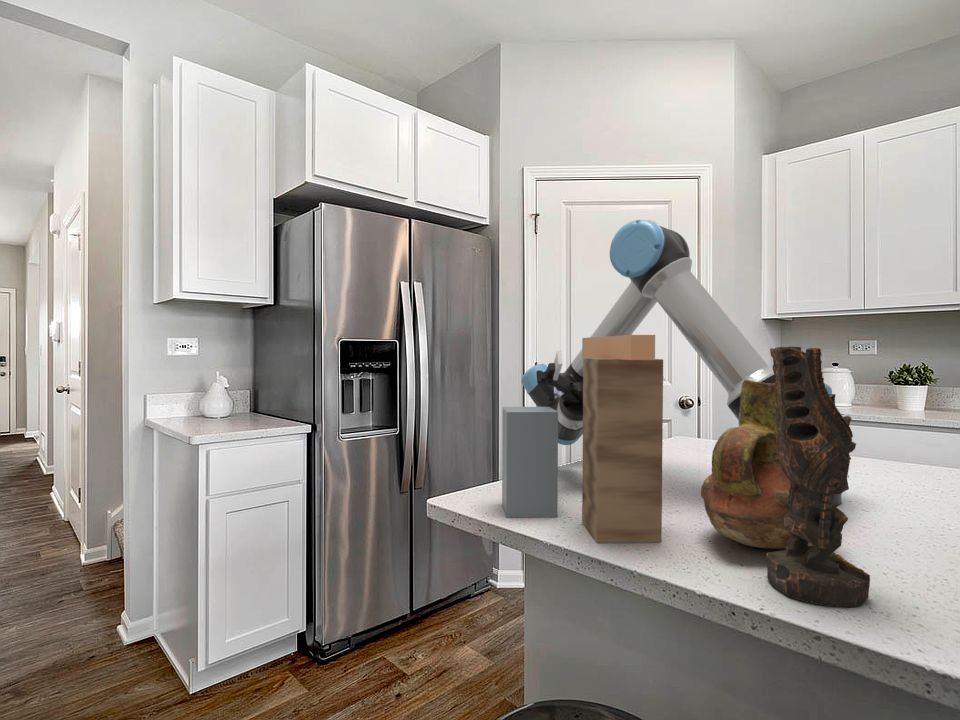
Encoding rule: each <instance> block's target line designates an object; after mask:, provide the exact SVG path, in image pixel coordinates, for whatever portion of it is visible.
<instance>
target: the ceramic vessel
mask: <svg viewBox="0 0 960 720" xmlns="http://www.w3.org/2000/svg"><path fill="white" fill-rule="evenodd" d="M776 389H777V388H776V385H775V384H770V383H763V382H754V381H749V380H744V381H743V383H742V388H741V393H740V411H739V415H740V424H739V423H738V426H734V427H730V428H728V429H726V430H725V431H724V432H723V433H722V434H721V435H720V436H719V437H718V439H717V441H716V442H715V445H714V447H713V449H712V455H711V474H709V475H708V476H707V477H706V478H705V480H703V483H702V485H701V488H700V496H701V498H702V499H703V504H704V509H705V512H706V515H707V517H708V518H709V522H710V524H711V525H712V526H713V529H715V530H716V531H717V532H718V533H719V534H721V535H722V536H724V537H726V538H727V539H731V540H732V541H735V542H737V543H739V544H741V545H744V546H748V547H751V548H756V549H757V548H758V549H769V550H770V549H771V550H772V549H773V550H777V549H778V550H786V546H787V544H788V541H789V537H790V531H788V530H787V528H786V527H785V526H784V517H785V515H786V514H787V509H788V502H789V500H788V496H789V495H790V494H789V489H790V488H791V486H790V482H791V481H790V480H789V479H788V478H787V477H786V476H785V475H784V473H783V471H782V468H781V466H780V462H779V458H778V453H777V446H776V435H777V426H776V422H775V415H776V414H777V412H778V411H777V403H776V402H777V393H776ZM829 502H830V501H829Z"/></svg>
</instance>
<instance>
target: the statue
mask: <svg viewBox="0 0 960 720" xmlns="http://www.w3.org/2000/svg"><path fill="white" fill-rule="evenodd" d="M769 351H770V356H771V358H772V361H773V362H772V363H773V364H772V368H773V372H774V375H775V385H776V388H777V389H776V393H777V402H776V403H777V411H778V412H777V414H776V415H775V422H776V426H777V435H776V446H777V453H778V458H779V462H780V466H781V468H782V471H783V473H784V475H785V476H786V477H787V478H788V479H789V480H790V481H791V482H790V486H791V488H790V489H789V494H790V495H789V496H788V500H789V502H788V509H787V514H786V515H785V517H784V526H785V527H786V528H787V530H788V531H790V537H789V541H788V544H787V546H786V549H781V550H779V551H777V550H776V551H772V552H767V553H766V556H765V558H766V559H765V560H766V565H767V566H766V567H767V572H766V573H767V579H768V581H769V582H770V584H771V585H772V586H773V587H774V588H776V589H777V590H779V592H781V593H782V594H785V595H787V596H789V597H791V598H793V599H796V600H798V601H799V600H800V601H802V602H806V603H811V604H815V605H819V606H820V605H821V606H828V607H840V608H856V607H859V606H862V605H863V604H864V603H865V602H866V601H868V599H869V593H870V587H871V586H870V585H871V575H870V574H869V573H867V572H865V570H863V569H861V568H860V567H858V566H856V565H854V564H853V563H851V562H848V560H846V559H845V558H844V557H843V556H841V555H840V554H838V553H836V550H838V549H839V548H840V547H842V541H843V533H842V532H843V529H844V526H845V524H846V523H847V522H848V521H849V518H848V516H847V515H846V514H845V513H844V512H843V511H842V510H840V508H838V507H836V506H834V505H833V504H831V503H830V502H829V501H830V499H831V497H830V495H832V500H833V498H834V497H833V495H834V494H841V495H842V493H845V492H847V491H848V490H849V488H850V487H849V482H848V479H849V477H850V475H848V474H849V469H850V464H851V459H852V457H851V456H850V453H852V452H854V451H855V449H856V446H857V443H856V442H854V441H853V437H854V434H853V431H852V429H851V425H850V423H851V421H852V419H853V418H852V417H851V416H849V415H845V416H843V415H842V413H841V412H840V411H839V409H838V408H837V406H836V401H835V400H836V393H832V394H829V393H828V391H827V389H826V387H825V384H826V383H825V381H824V380H825V378H824V376H823V373H824V372H823V371H822V363H823V361H822V354H823V353H822V348H817V347H810V348H806V349H805V351H802V346H791V345H790V346H778V347H777V346H776V347H775V348H769ZM824 383H825V384H824ZM832 500H831V501H832ZM810 544H811V545H810Z"/></svg>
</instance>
